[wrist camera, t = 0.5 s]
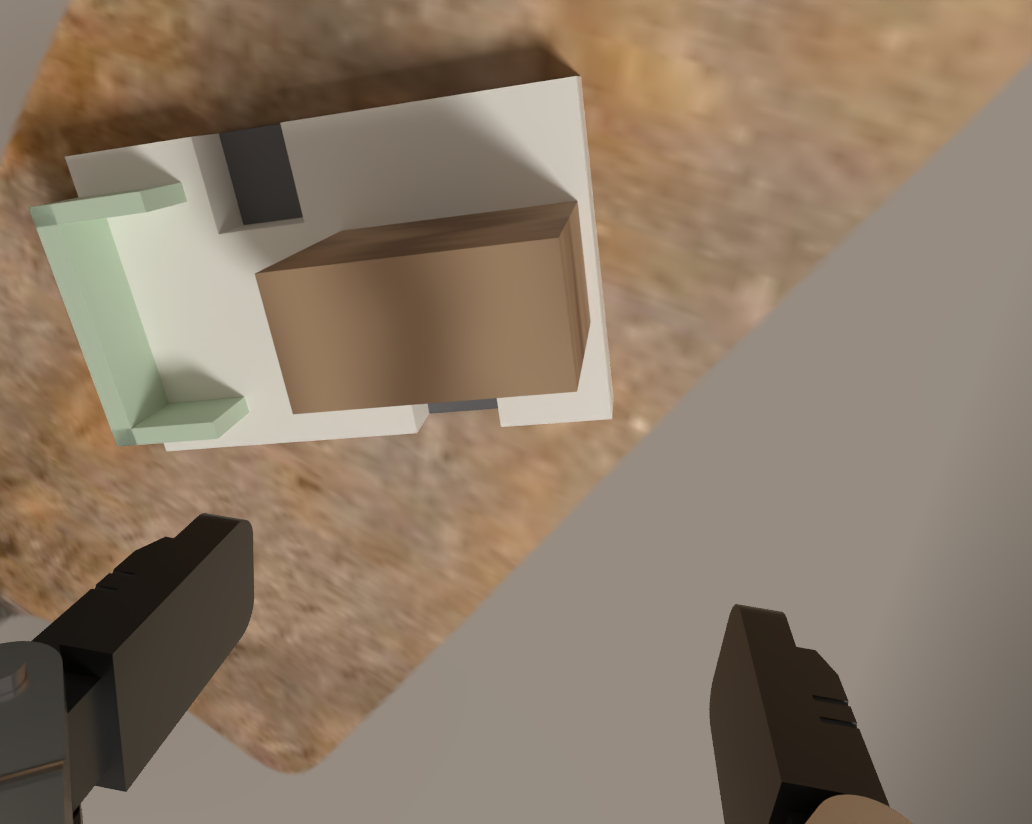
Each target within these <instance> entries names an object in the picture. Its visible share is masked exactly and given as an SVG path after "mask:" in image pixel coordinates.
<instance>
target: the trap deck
mask: <svg viewBox="0 0 1032 824" xmlns="http://www.w3.org/2000/svg"><path fill="white" fill-rule="evenodd" d="M65 159H66V162H67V165H68V168H69V171H70V174H71V177H72V180H73V183H74V185H75V188H76V191H77V194H78V198H73V199H68V200H63V201H58V202H54V203H49V204H44V205H39V206H34V207H29V210H30V212H31V215H32V218H33V220H34V223H35V226H36V228H37V231H38V234H39V237H40V239H41V242H42V245H43V247H44V250H45V253H46V255H47V258H48V261H49V263H50V266H51V269H52V272H53V274H54V277H55V280H56V282H57V285H58V288H59V290H60V293H61V296H62V298H63V301H64V304H65V306H66V309H67V312H68V315H69V317H70V320H71V323H72V325H73V328H74V331H75V333H76V336H77V339H78V341H79V344H80V347H81V350H82V352H83V355H84V358H85V360H86V363H87V366H88V368H89V371H90V374H91V376H92V379H93V382H94V384H95V387H96V390H97V393H98V395H99V398H100V401H101V403H102V406H103V409H104V411H105V414H106V417H107V419H108V422H109V425H110V428H111V430H112V433H113V436H114V438H115V441H116V444H117V446H129V445H143V444H156V443H164V445H165V448H166V451H176V450H189V449H203V448H217V447H231V446H245V445H258V444H272V443H286V442H300V441H314V440H327V439H341V438H355V437H369V436H383V435H396V434H410V433H417V432H418V431H419V429H420V428H421V426H422V424H423V423H424V421H425V420H426V418H427V417H428V415H429V414H430V413H443V412H456V411H469V410H482V409H495V408H498V410H499V416H500V422H501V427H507V426H521V425H534V424H548V423H562V422H576V421H590V420H603V419H612V411H613V388H612V378H611V368H610V358H609V349H608V339H607V329H606V319H605V309H604V299H603V289H602V279H601V269H600V259H599V250H598V240H597V230H596V220H595V210H594V200H593V190H592V180H591V170H590V160H589V151H588V141H587V131H586V121H585V111H584V101H583V91H582V81H581V76H573V77H567V78H560V79H554V80H548V81H541V82H535V83H529V84H522V85H516V86H510V87H503V88H497V89H491V90H484V91H478V92H472V93H465V94H459V95H453V96H446V97H440V98H433V99H427V100H421V101H414V102H408V103H402V104H395V105H389V106H383V107H376V108H370V109H364V110H357V111H351V112H345V113H338V114H332V115H326V116H319V117H313V118H307V119H300V120H294V121H288V122H281V123H280V124H276V125H270V126H263V127H257V128H251V129H244V130H238V131H231V132H225V133H219V134H210V135H202V136H193V137H186V138H180V139H174V140H167V141H161V142H155V143H148V144H142V145H136V146H129V147H123V148H117V149H110V150H104V151H98V152H91V153H85V154H79V155H72V156H66V157H65ZM571 201H578V209H579V219H580V228H581V237H582V246H583V255H584V265H585V274H586V283H587V292H588V301H589V311H590V320H591V323H590V328H589V333H588V339H587V344H586V349H585V354H584V359H583V364H582V369H581V374H580V379H579V385H578V390H577V392H567V393H555V394H542V395H530V396H517V397H504V398H492V399H479V400H467V401H454V402H442V403H429V404H417V405H404V406H392V407H379V408H367V409H354V410H342V411H329V412H316V413H304V414H293V413H292V409H291V406H290V402H289V398H288V395H287V391H286V387H285V383H284V380H283V376H282V372H281V369H280V365H279V361H278V358H277V354H276V350H275V347H274V343H273V339H272V336H271V332H270V328H269V325H268V321H267V317H266V314H265V310H264V306H263V303H262V299H261V295H260V292H259V288H258V284H257V281H256V277H255V273H257V272H259V271H261V270H263V269H265V268H267V267H269V266H271V265H273V264H275V263H277V262H279V261H281V260H283V259H285V258H287V257H289V256H291V255H293V254H295V253H297V252H299V251H301V250H303V249H305V248H307V247H309V246H311V245H313V244H315V243H317V242H320V241H322V240H324V239H326V238H328V237H330V236H332V235H334V234H336V233H338V232H340V231H343V230H351V229H359V228H367V227H375V226H382V225H390V224H398V223H406V222H414V221H422V220H430V219H438V218H445V217H453V216H461V215H469V214H477V213H485V212H493V211H501V210H508V209H516V208H524V207H532V206H540V205H548V204H556V203H564V202H571Z"/></svg>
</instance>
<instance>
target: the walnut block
mask: <svg viewBox="0 0 1032 824" xmlns="http://www.w3.org/2000/svg"><path fill="white" fill-rule="evenodd" d="M255 277H256V281H257V284H258V288H259V292H260V295H261V299H262V303H263V306H264V310H265V314H266V317H267V321H268V325H269V328H270V332H271V336H272V339H273V343H274V347H275V350H276V354H277V358H278V361H279V365H280V369H281V372H282V376H283V380H284V383H285V387H286V391H287V395H288V398H289V402H290V406H291V409H292V413H293V414H304V413H316V412H329V411H342V410H354V409H367V408H379V407H392V406H404V405H417V404H429V403H442V402H454V401H467V400H479V399H492V398H504V397H517V396H530V395H542V394H555V393H567V392H577V390H578V385H579V379H580V374H581V369H582V364H583V359H584V354H585V349H586V344H587V339H588V333H589V328H590V323H591V320H590V311H589V301H588V292H587V283H586V274H585V265H584V255H583V246H582V237H581V228H580V219H579V209H578V201H571V202H564V203H556V204H548V205H540V206H532V207H524V208H516V209H508V210H501V211H493V212H485V213H477V214H469V215H461V216H453V217H445V218H438V219H430V220H422V221H414V222H406V223H398V224H390V225H382V226H375V227H367V228H359V229H351V230H343V231H340V232H338V233H336V234H334V235H332V236H330V237H328V238H326V239H324V240H322V241H320V242H317V243H315V244H313V245H311V246H309V247H307V248H305V249H303V250H301V251H299V252H297V253H295V254H293V255H291V256H289V257H287V258H285V259H283V260H281V261H279V262H277V263H275V264H273V265H271V266H269V267H267V268H265V269H263V270H261V271H259V272H257V273H255Z"/></svg>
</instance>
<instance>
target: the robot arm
mask: <svg viewBox="0 0 1032 824" xmlns="http://www.w3.org/2000/svg"><path fill="white" fill-rule="evenodd" d="M253 603H254V569H253V530H252V526H251V524H250V522H249V521H247V520H243V519H237V518H231V517H225V516H219V515H213V514H207V513H203V514H201V515H199V516H198V517H197V518H196V519H194V520H193V521H192V522H191V523H190V524H189V525H188V526H187V527H186V528H185V529H184V530H183V531H181V532H180V533H179V534H178V535H177V536H176V537H175V538H170V537H164V538H162V539H159V540H157V541H155V542H153V543H151V544H149V545H147V546H144V547H142V548H140V549H138V550H136V551H134V552H133V553H132V554H131V555H130V556H128V557H127V558H126V559H125V560H124V561H123V562H122V563H120V564H119V565H118V566H117V567H116V568H115V569H114V571H113V573H112V574H111V573H109V574H108V575H107V576H106V577H104V578H103V579H102V580H101V581H100V582H99V583H97V584H96V587H95V589H91V590H89V591H88V592H87V593H86V594H85V595H84V596H83V597H81V598H80V599H79V600H78V601H77V602H76V603H75V604H73V605H72V606H71V607H70V608H69V609H68V610H66V611H65V612H64V613H63V614H62V615H61V616H60V617H58V618H57V619H56V620H55V621H54V622H53V623H52V624H50V625H49V626H48V627H47V628H46V629H45V630H44V631H42V632H41V633H40V634H39V635H38V636H37V637H36V638H34V639H33V640H32V641H16V642H7V643H1V644H0V824H83V816H82V809H81V802H82V801H83V800H84V798H85V797H86V796H87V795H88V793H89V792H90V791H91V790H92V788H93V787H94V786H100V787H105V788H110V789H115V790H120V791H125V792H126V791H127V790H128V789H129V787H130V786H131V785H132V783H133V782H134V781H135V779H136V778H137V777H138V775H139V774H140V773H141V771H142V770H143V769H144V767H145V766H146V765H147V763H148V762H149V760H150V759H151V758H152V757H153V755H154V754H155V753H156V751H157V750H158V749H159V747H160V746H161V744H162V743H163V742H164V740H165V739H166V738H167V736H168V735H169V734H170V732H171V731H172V730H173V728H174V727H175V726H176V724H177V723H178V722H179V720H180V719H181V718H182V716H183V715H184V714H185V712H186V711H187V710H188V708H189V707H190V706H191V704H192V703H193V702H194V700H195V699H196V698H197V696H198V695H199V694H200V692H201V691H202V690H203V688H204V687H205V685H206V684H207V683H208V681H209V680H210V679H211V677H212V676H213V675H214V673H215V672H216V671H217V669H218V668H219V667H220V665H221V664H222V663H223V661H224V660H225V659H226V657H227V656H228V655H229V653H230V652H231V651H232V649H233V648H234V647H235V645H236V644H237V643H238V641H239V640H240V639H241V637H242V636H243V634H244V632H245V630H246V628H247V626H248V623H249V621H250V618H251V614H252V610H253ZM710 726H711V733H712V740H713V747H714V754H715V760H716V767H717V774H718V781H719V788H720V795H721V801H722V808H723V815H724V822H725V824H913V823H912V822H911V821H910V820H908V819H907V818H906V817H904V816H903V815H902V814H900V813H899V812H897V811H896V810H894V809H892V808H890V806H889V804H888V801H887V799H886V796H885V793H884V791H883V789H882V786H881V783H880V781H879V778H878V776H877V773H876V770H875V768H874V765H873V763H872V760H871V758H870V755H869V753H868V750H867V748H866V745H865V742H864V740H863V738H862V735H861V732H860V730H859V729H858V728H857V722H856V719H855V717H854V714H853V712H852V709H851V707H850V706H848V699H847V696H846V694H845V691H844V689H843V686H842V684H841V682H840V679H839V676H838V674H837V673H836V672H835V671H834V670H833V669H832V668H831V667H830V666H829V665H828V663H827V662H826V661H825V660H824V659H823V658H822V657H821V656H820V655H819V654H818V652H816V651H815V650H811V649H804V648H799V647H796V645H795V642H794V639H793V636H792V633H791V630H790V627H789V624H788V621H787V618H786V616H785V614H784V613H783V612H779V611H773V610H768V609H761V608H756V607H750V606H744V605H738V604H735V605H734V607H733V608H732V610H731V613H730V616H729V620H728V623H727V627H726V631H725V635H724V639H723V643H722V647H721V651H720V655H719V658H718V662H717V667H716V670H715V674H714V678H713V682H712V688H711V695H710Z"/></svg>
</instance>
